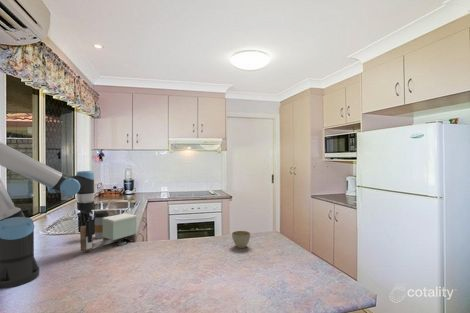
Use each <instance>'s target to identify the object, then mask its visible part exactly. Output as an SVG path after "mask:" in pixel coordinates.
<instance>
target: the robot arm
mask: <svg viewBox="0 0 470 313" xmlns="http://www.w3.org/2000/svg"><path fill="white" fill-rule="evenodd" d="M0 167H3V168H5V169H8V170H10V171H12V172H14V173H17V174H19V175H21V176H23V177H25V178H27V179H30V180H32V181H33V182H36V183H38V184H41V185H43V186H45V187H46V188H47V191H48V193H49V194H57V193H60V194H62V195H63V196H66V197H70V196H71V197H72V196H75V195H76V201H77V204H76V206H77V208H76V209H77V211H79V212H78V213H77V214H76V215H77V231H78V233H80V227H81V226H85V225H86V233H87V235H86V236H85V237H86V249H90V248H92V235H93V236H95V217H96V216H95V215H94V214H93V210H94V209H95V175H94V171H91V170H82V171H81V170H79V171H77V172H76V175H67V174H64V173H63V172H60V171H59V170H57V169H56V168H53V167H51V166H49V165H47V164H45V163H43V162H40V161H39V160H37V159H35V158H33V157H32V156H29V155H27V154H25V153H24V152H21V151H19V150H18V149H15V148H13V147H11V146H9V145H7V144H5V143H3V142H0ZM34 235H35V223H34V220H33V219H32V218H31V217H26V216H25V214H24V212H23V210H22V209H21V208H20V207H18V206H17V207H16V206H15V204H14V202H13V201H12V198H11V196H10V195H9V192H8V191H7V189H6V187H5V185H4V183H3V180H2V179H1V178H0V290H1V289H9V288H14V287H18V286H21V285H24V284H27V283H29V282H32V281H34V280H35V279H37V278H38V277H39V276H40V267H39V265H38V262H37V260H36V257H35V242H34V241H35V239H34V238H35V236H34Z"/></svg>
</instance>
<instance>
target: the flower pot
mask: <svg viewBox="0 0 470 313" xmlns="http://www.w3.org/2000/svg"><path fill="white" fill-rule="evenodd" d="M231 237H232V241H233V243H234V245H235V246H236V247H237V248H238V249H244V248H246V247H247V246H248V245H249V242H250V238H251V232H250V231H246V230H235V231H233V232H232V233H231Z"/></svg>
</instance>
